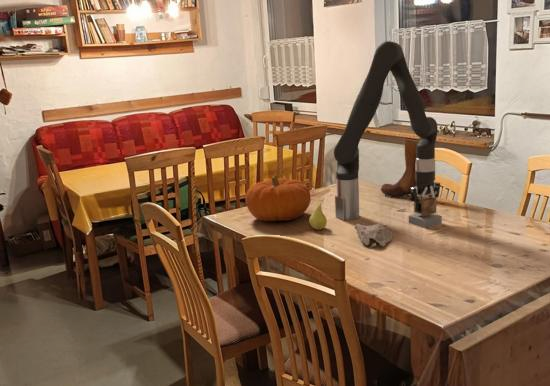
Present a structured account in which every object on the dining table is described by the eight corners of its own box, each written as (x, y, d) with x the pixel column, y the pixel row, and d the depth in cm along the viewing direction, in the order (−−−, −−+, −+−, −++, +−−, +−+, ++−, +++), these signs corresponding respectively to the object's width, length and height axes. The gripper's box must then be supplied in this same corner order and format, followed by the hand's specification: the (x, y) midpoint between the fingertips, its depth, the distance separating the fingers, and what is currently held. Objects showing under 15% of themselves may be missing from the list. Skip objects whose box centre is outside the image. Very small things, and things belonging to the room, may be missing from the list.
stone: (347, 249, 209) (381, 260, 199) (343, 231, 204) (378, 242, 195) (369, 227, 217) (403, 236, 208) (366, 209, 213) (400, 218, 203)
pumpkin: (261, 233, 223) (257, 185, 218) (237, 216, 248) (234, 172, 243) (323, 220, 234) (321, 174, 229) (294, 205, 259) (292, 163, 254)
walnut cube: (424, 215, 217) (424, 200, 215) (414, 212, 222) (414, 197, 220) (436, 212, 219) (436, 198, 218) (425, 209, 225) (425, 195, 223)
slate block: (425, 229, 216) (425, 220, 215) (408, 223, 224) (408, 215, 223) (441, 224, 220) (441, 216, 219) (425, 219, 228) (425, 211, 227)
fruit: (306, 229, 223) (305, 201, 220) (318, 224, 229) (316, 196, 226) (319, 232, 219) (318, 203, 216) (331, 227, 224) (330, 199, 221)
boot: (377, 195, 266) (376, 140, 259) (390, 191, 271) (389, 137, 265) (421, 204, 247) (421, 145, 240) (433, 199, 252) (434, 141, 245)
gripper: (432, 164, 222) (432, 204, 227) (404, 170, 216) (404, 211, 221) (446, 167, 216) (445, 208, 220) (417, 173, 210) (417, 215, 214)
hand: (425, 209), depth 220 cm, fingers closed on walnut cube, 6 cm apart
